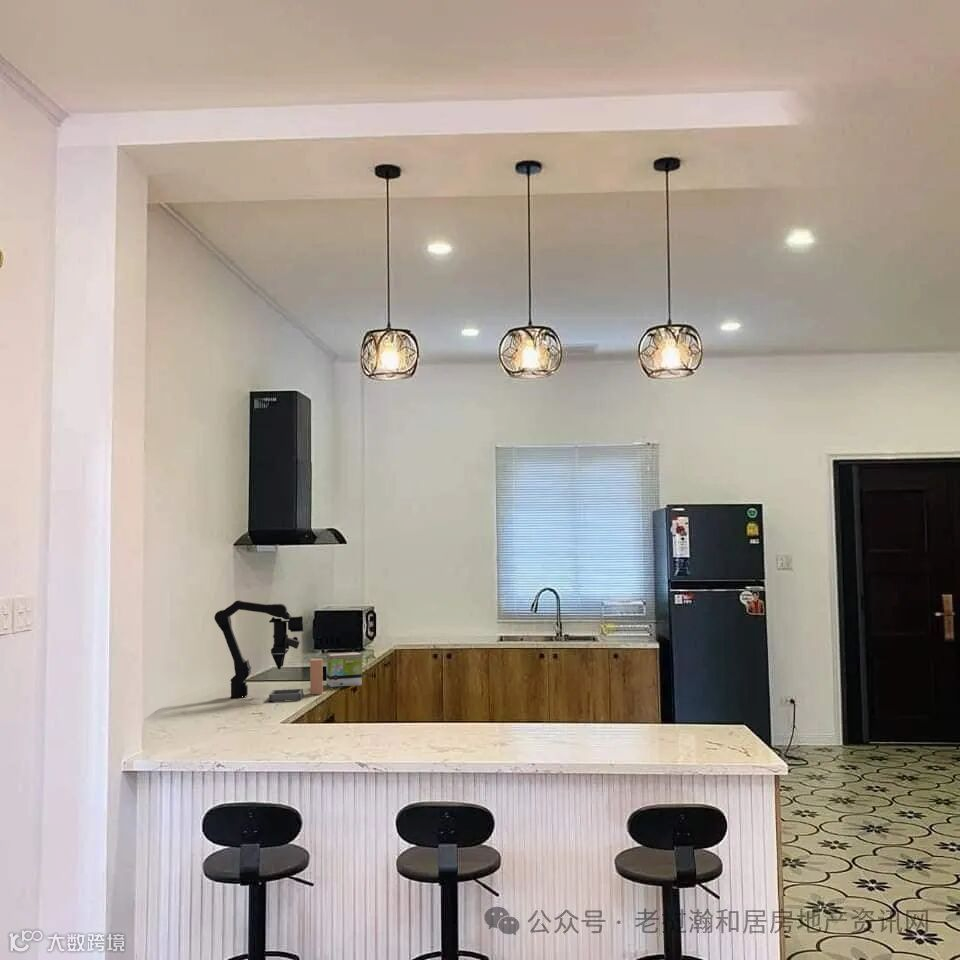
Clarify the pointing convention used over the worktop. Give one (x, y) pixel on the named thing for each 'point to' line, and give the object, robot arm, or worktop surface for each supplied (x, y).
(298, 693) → the tray
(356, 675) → the tea box
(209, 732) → the worktop surface
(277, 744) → the worktop surface
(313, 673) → the peach block
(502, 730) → the worktop surface
